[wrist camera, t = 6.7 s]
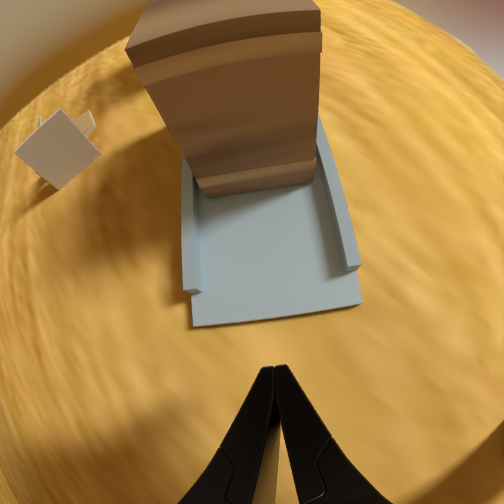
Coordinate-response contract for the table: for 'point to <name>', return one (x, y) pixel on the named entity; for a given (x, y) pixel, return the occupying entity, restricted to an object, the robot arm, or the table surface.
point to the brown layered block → (234, 87)
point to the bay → (269, 248)
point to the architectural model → (59, 148)
